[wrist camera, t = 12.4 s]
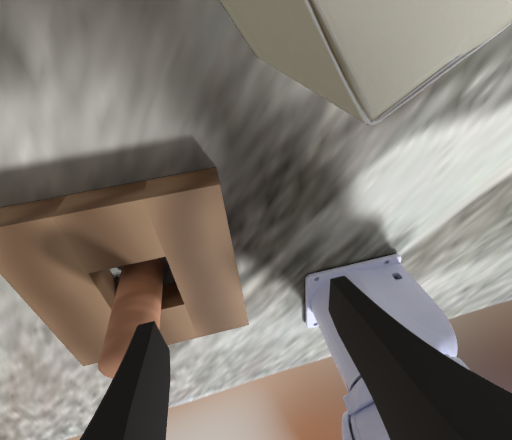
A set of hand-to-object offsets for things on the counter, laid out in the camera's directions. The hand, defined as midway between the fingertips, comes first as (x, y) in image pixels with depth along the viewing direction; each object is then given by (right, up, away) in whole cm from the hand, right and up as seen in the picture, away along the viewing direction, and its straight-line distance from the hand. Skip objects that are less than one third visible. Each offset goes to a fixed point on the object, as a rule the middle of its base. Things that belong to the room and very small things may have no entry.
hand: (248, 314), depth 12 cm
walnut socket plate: (-8, 0, +11) cm, 13 cm away
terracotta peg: (-8, 0, +11) cm, 13 cm away
